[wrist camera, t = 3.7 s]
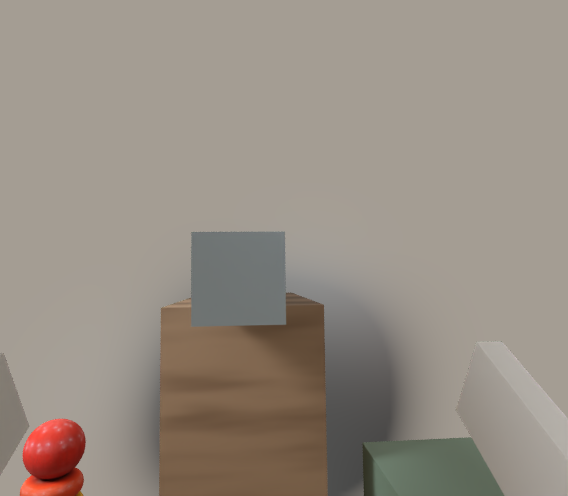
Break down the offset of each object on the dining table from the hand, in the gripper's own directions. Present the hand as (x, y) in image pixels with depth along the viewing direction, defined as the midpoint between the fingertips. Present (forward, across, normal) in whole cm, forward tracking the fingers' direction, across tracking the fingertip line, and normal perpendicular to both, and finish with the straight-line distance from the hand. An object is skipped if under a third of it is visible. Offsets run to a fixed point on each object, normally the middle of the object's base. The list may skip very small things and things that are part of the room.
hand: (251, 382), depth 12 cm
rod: (+16, 0, -8) cm, 18 cm away
